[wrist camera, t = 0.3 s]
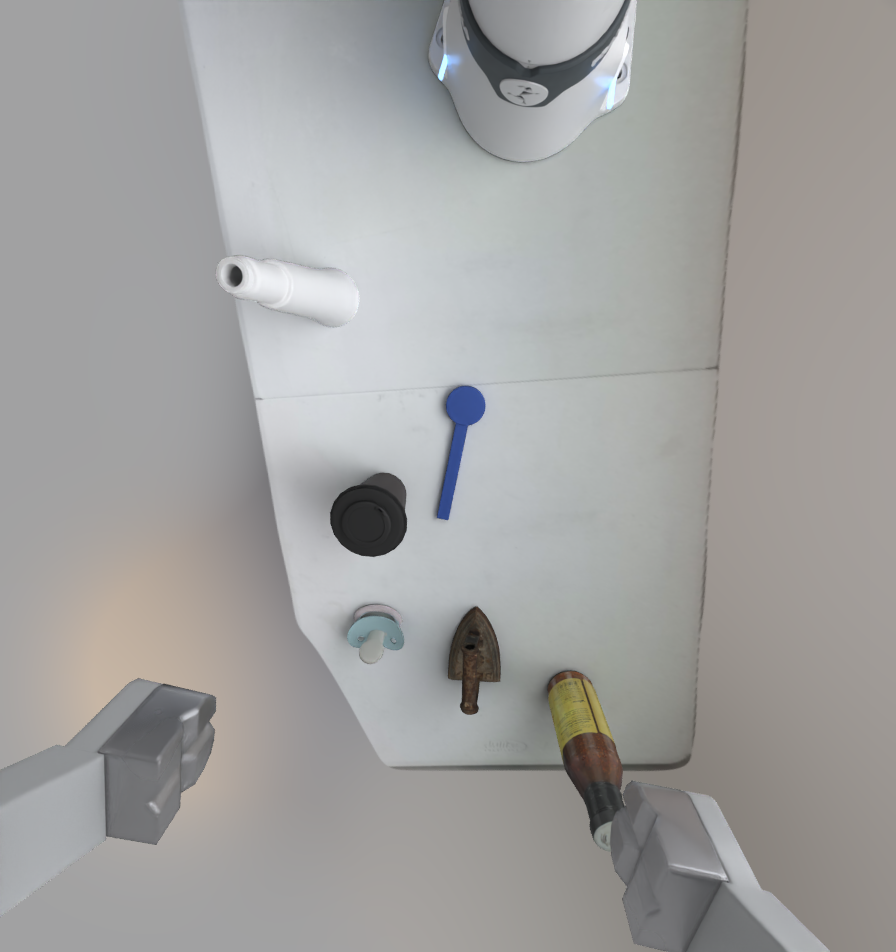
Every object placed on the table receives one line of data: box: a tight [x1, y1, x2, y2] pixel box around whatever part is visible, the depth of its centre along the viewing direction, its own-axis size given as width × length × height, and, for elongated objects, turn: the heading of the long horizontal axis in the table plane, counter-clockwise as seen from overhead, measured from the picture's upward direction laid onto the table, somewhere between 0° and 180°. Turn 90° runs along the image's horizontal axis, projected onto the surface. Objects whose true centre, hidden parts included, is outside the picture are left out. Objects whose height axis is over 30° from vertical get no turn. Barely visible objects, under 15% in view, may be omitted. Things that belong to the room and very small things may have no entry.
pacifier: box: [347, 605, 404, 664], centre depth 60 cm, size 7×6×6 cm
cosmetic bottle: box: [216, 255, 359, 327], centre depth 41 cm, size 6×6×22 cm
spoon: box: [437, 386, 485, 520], centre depth 55 cm, size 16×4×1 cm, turn 169°
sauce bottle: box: [548, 671, 624, 851], centre depth 55 cm, size 6×6×20 cm
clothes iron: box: [448, 607, 501, 715], centre depth 60 cm, size 7×11×10 cm, turn 1°
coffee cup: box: [330, 473, 407, 557], centre depth 53 cm, size 8×8×10 cm
